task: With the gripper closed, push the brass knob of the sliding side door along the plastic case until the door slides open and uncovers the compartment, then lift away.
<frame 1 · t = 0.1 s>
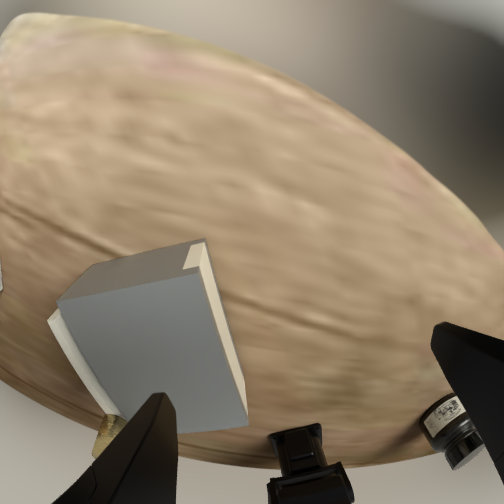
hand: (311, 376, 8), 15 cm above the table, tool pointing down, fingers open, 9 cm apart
ink bottle: (438, 409, 35), on the table
case: (170, 326, 24), on the table
side door: (95, 374, 18), point 6 cm above the table, slide at 0.0 cm
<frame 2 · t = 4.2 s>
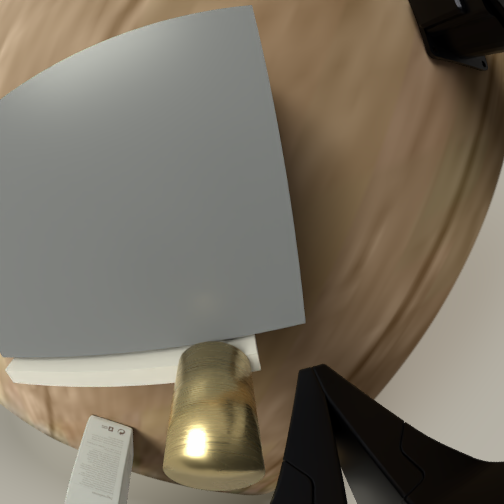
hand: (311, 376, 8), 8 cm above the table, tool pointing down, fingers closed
skincare box: (115, 435, 20), on the table
case: (123, 191, 13), on the table
side door: (110, 357, 10), point 6 cm above the table, slide at 0.8 cm, touching gripper
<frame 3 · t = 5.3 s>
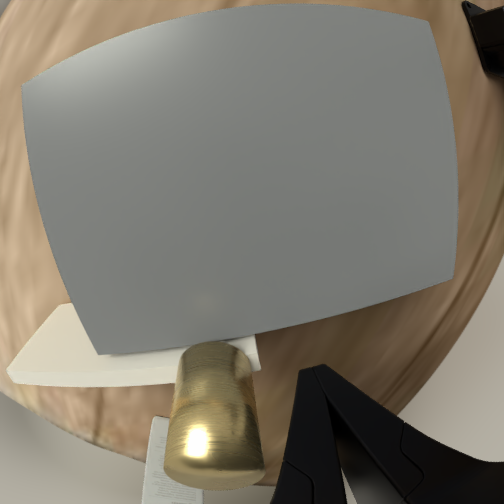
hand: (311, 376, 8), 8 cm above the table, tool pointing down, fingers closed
skincare box: (176, 435, 20), on the table
case: (245, 162, 13), on the table
side door: (110, 357, 10), point 6 cm above the table, slide at 7.2 cm, touching gripper
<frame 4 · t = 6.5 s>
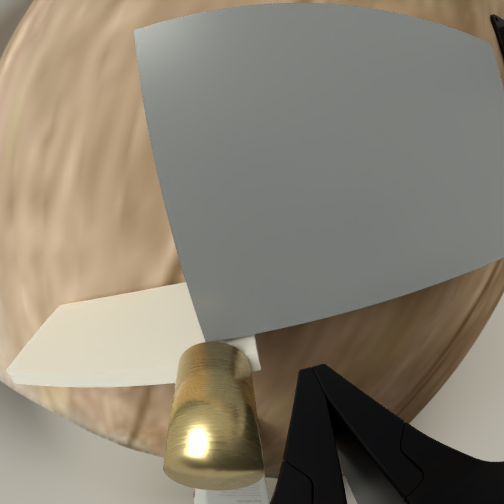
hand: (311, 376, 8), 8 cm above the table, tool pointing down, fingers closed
skincare box: (224, 431, 20), on the table
case: (328, 150, 14), on the table
side door: (110, 357, 10), point 6 cm above the table, slide at 11.4 cm, touching gripper
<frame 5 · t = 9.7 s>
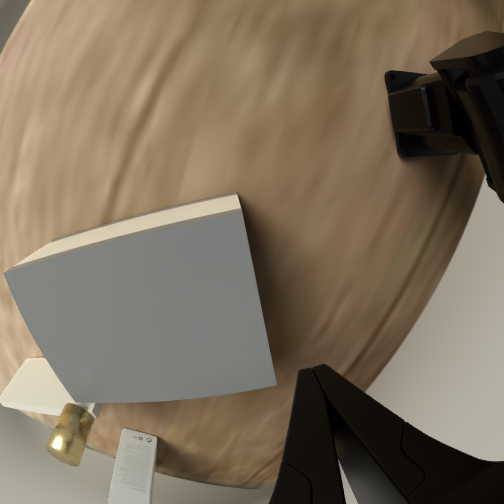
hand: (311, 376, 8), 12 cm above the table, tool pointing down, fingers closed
skincare box: (141, 442, 26), on the table
case: (153, 284, 19), on the table
side door: (44, 398, 16), point 6 cm above the table, slide at 11.5 cm
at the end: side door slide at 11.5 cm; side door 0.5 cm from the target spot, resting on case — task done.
